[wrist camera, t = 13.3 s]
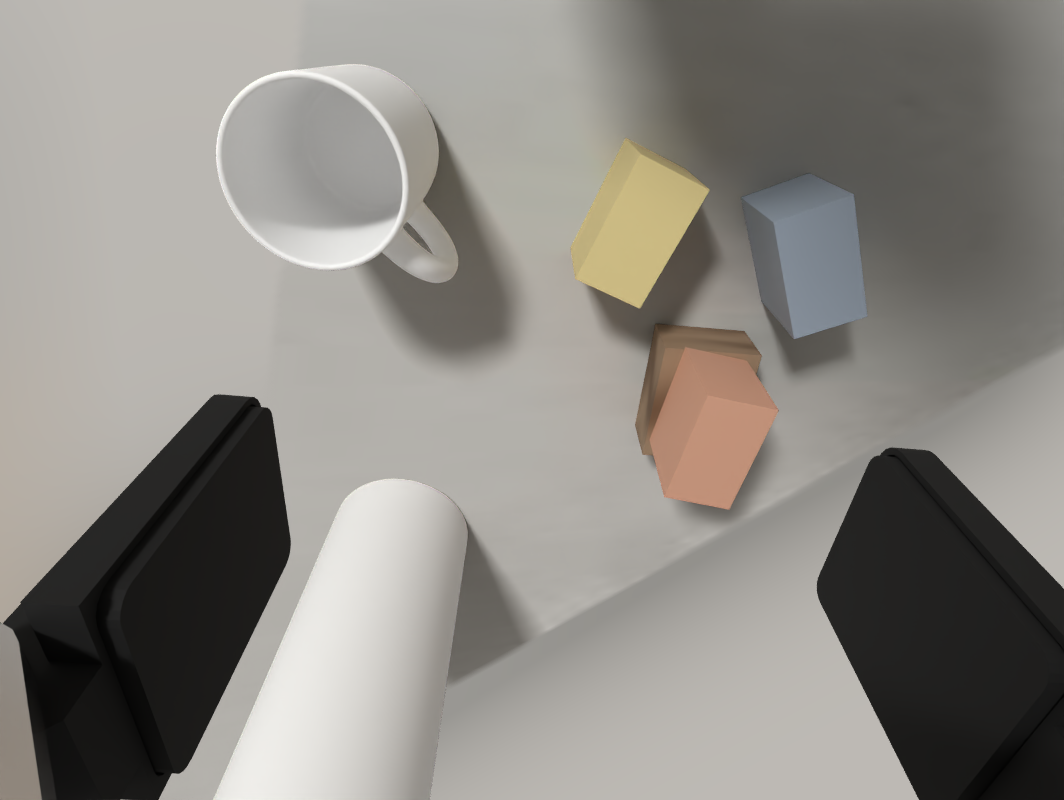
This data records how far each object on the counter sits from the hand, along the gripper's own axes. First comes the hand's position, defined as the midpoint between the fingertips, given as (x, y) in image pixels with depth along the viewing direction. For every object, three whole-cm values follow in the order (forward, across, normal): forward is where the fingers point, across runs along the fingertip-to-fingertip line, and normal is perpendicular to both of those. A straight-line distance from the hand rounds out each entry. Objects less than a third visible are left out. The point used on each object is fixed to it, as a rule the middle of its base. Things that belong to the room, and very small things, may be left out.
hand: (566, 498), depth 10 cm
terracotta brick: (+27, -11, +13) cm, 31 cm away
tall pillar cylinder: (+31, +9, +29) cm, 43 cm away
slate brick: (+30, -15, +3) cm, 34 cm away
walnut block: (+31, -11, +13) cm, 35 cm away
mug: (+31, +9, +1) cm, 32 cm away
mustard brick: (+30, -5, +2) cm, 31 cm away
